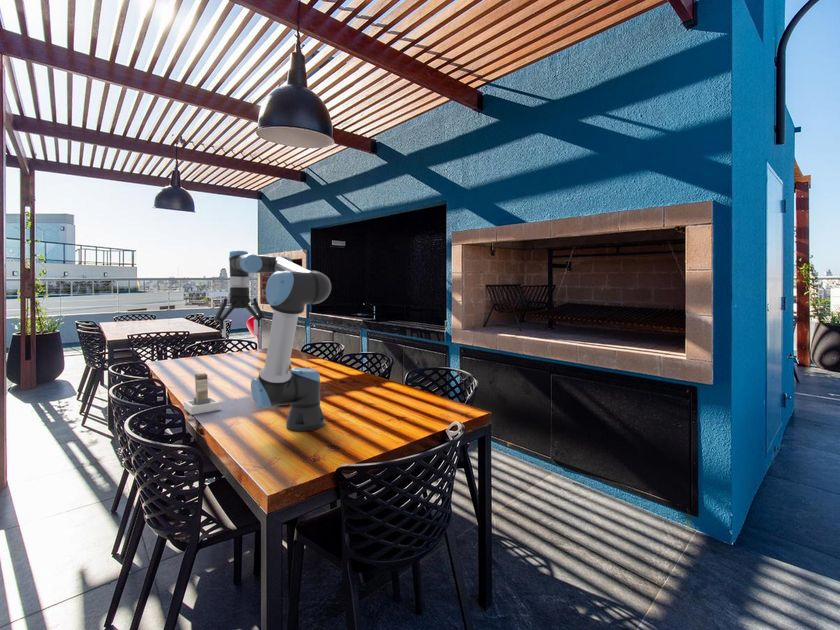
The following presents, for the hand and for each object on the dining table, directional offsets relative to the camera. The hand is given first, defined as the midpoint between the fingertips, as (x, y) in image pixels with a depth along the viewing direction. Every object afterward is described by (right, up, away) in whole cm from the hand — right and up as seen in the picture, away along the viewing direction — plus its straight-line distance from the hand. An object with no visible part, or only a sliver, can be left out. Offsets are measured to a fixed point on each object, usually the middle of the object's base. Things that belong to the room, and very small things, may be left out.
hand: (240, 335), depth 185 cm
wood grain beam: (-21, -32, +9) cm, 39 cm away
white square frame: (-21, -34, +9) cm, 41 cm away
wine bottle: (+13, -34, +20) cm, 41 cm away
